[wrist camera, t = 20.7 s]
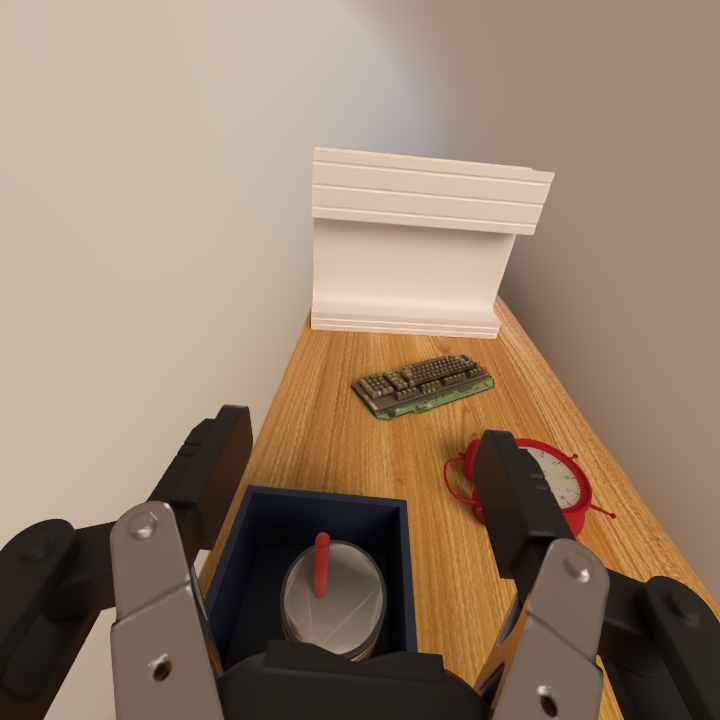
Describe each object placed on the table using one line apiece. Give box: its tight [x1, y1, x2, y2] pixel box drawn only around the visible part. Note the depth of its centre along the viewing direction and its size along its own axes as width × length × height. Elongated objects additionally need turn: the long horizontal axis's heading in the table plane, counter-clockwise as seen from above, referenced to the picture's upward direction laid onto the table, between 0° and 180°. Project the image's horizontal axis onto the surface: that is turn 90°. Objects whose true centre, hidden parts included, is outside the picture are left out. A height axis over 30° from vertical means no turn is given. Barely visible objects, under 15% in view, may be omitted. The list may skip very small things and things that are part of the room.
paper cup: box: [280, 532, 387, 661], centre depth 20 cm, size 6×6×14 cm
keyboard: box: [351, 354, 494, 420], centre depth 50 cm, size 22×9×2 cm, turn 119°
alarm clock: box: [444, 439, 616, 537], centre depth 35 cm, size 10×6×15 cm
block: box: [311, 147, 555, 339], centre depth 59 cm, size 35×8×28 cm, turn 93°
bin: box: [204, 485, 418, 673], centre depth 23 cm, size 12×12×8 cm
